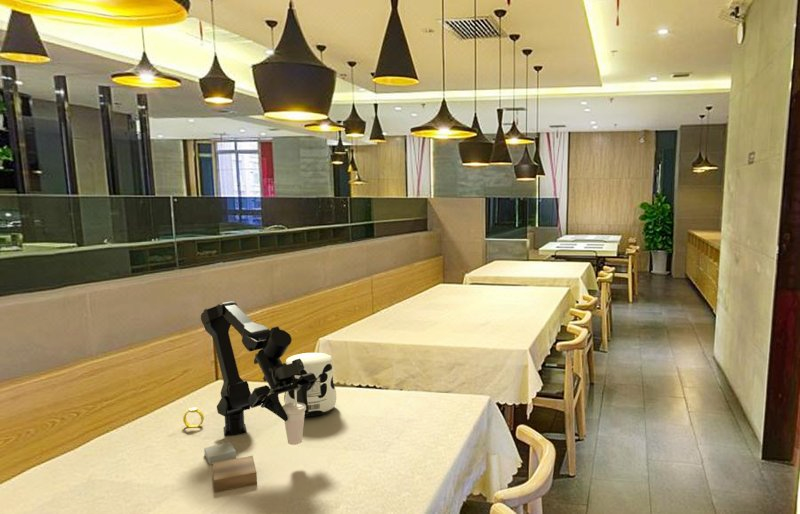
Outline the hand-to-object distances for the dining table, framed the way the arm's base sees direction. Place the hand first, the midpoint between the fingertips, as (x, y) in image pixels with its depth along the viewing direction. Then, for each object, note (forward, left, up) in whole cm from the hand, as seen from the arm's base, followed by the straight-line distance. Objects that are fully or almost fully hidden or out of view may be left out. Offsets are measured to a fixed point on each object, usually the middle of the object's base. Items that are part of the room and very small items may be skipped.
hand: (297, 416), depth 144 cm
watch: (-40, -26, -13) cm, 50 cm away
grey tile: (-14, -19, -13) cm, 27 cm away
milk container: (-38, +11, -13) cm, 42 cm away
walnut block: (+1, -16, -13) cm, 21 cm away
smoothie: (-1, -1, -7) cm, 8 cm away
